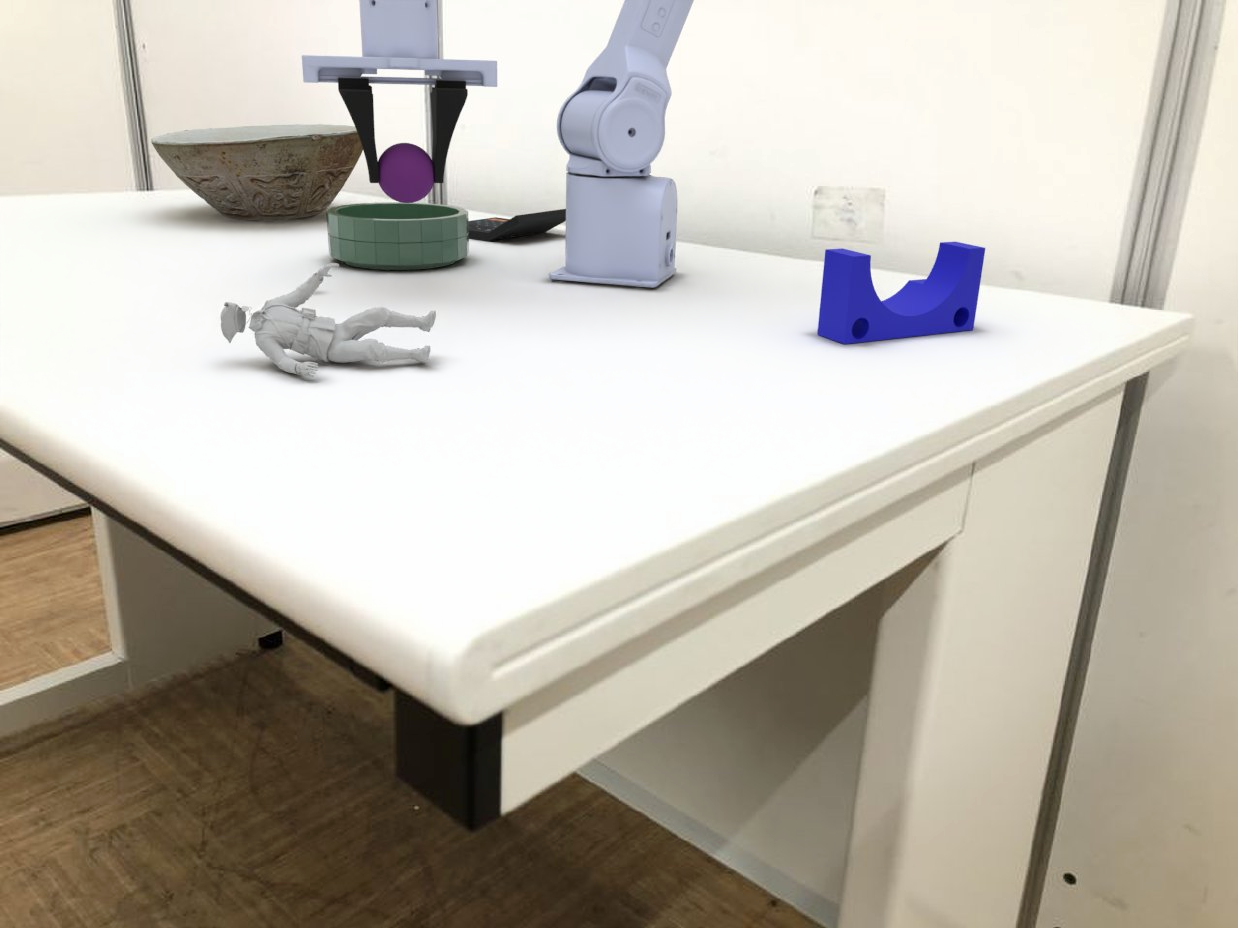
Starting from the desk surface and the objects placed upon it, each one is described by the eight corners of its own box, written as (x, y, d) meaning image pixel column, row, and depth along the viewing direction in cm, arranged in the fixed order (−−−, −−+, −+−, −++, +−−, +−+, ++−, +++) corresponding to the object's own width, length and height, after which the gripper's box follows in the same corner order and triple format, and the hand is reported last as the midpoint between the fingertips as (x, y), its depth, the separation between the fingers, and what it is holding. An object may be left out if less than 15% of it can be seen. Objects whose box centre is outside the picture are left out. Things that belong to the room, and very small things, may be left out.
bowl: (115, 224, 115) (101, 127, 111) (226, 199, 137) (218, 118, 133) (322, 235, 111) (315, 135, 108) (402, 208, 133) (398, 124, 130)
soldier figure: (425, 396, 63) (212, 340, 58) (404, 429, 67) (203, 380, 62) (442, 287, 66) (242, 227, 62) (422, 325, 70) (232, 271, 66)
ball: (445, 201, 87) (444, 142, 85) (421, 208, 82) (418, 146, 81) (394, 198, 88) (391, 140, 86) (367, 204, 84) (364, 143, 82)
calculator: (495, 225, 122) (495, 198, 121) (575, 236, 116) (576, 208, 115) (437, 233, 115) (436, 205, 114) (519, 245, 109) (519, 216, 108)
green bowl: (489, 254, 103) (488, 207, 102) (432, 277, 92) (430, 224, 90) (372, 245, 106) (369, 199, 105) (303, 265, 95) (299, 214, 93)
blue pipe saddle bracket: (930, 317, 82) (940, 238, 80) (973, 329, 79) (985, 247, 76) (804, 329, 77) (812, 246, 75) (844, 344, 73) (853, 256, 71)
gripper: (295, -13, 74) (310, 187, 79) (502, -4, 78) (504, 187, 83) (298, -7, 81) (311, 177, 86) (489, 1, 84) (491, 178, 89)
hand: (405, 182), depth 85 cm, fingers closed on ball, 4 cm apart
